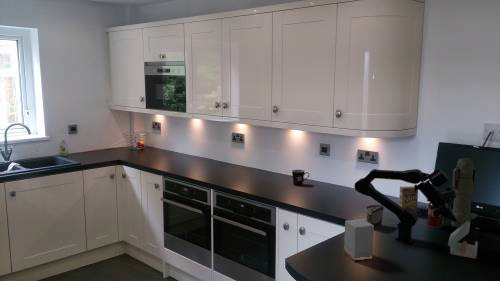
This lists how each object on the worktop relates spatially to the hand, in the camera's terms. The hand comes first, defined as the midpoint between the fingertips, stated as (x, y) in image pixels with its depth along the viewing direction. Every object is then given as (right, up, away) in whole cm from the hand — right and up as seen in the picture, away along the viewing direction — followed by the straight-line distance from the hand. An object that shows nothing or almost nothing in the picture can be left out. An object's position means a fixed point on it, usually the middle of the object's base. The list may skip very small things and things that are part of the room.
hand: (456, 221), depth 189 cm
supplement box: (-45, -14, -6) cm, 47 cm away
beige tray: (+3, -13, 0) cm, 14 cm away
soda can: (+4, -9, +31) cm, 32 cm away
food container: (-29, -8, +31) cm, 43 cm away
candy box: (-3, -6, +50) cm, 50 cm away
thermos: (+17, -8, +32) cm, 37 cm away
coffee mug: (-56, +4, +111) cm, 124 cm away
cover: (+2, -6, 0) cm, 6 cm away
